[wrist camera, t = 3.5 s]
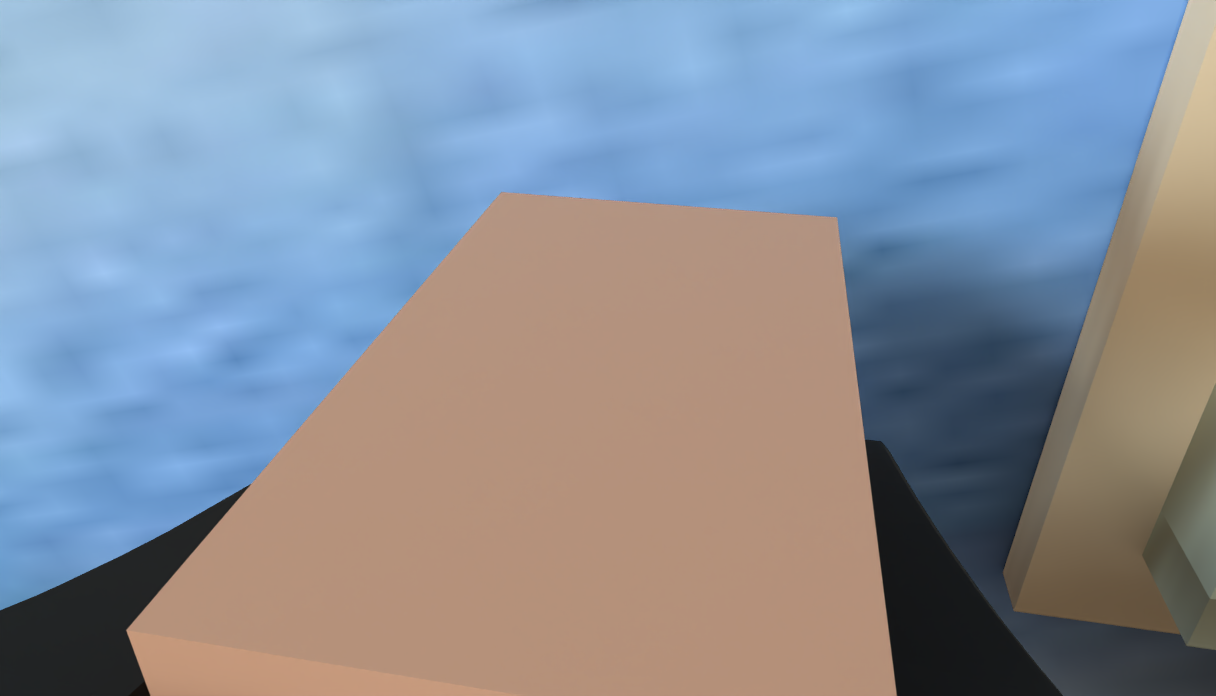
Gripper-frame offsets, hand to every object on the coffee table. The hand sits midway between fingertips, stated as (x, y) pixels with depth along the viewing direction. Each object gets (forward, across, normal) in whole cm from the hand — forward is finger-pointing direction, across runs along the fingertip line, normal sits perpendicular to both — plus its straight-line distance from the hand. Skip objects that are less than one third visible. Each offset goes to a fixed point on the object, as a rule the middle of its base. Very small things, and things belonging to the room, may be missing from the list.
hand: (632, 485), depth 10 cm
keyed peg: (+2, 0, 0) cm, 2 cm away
